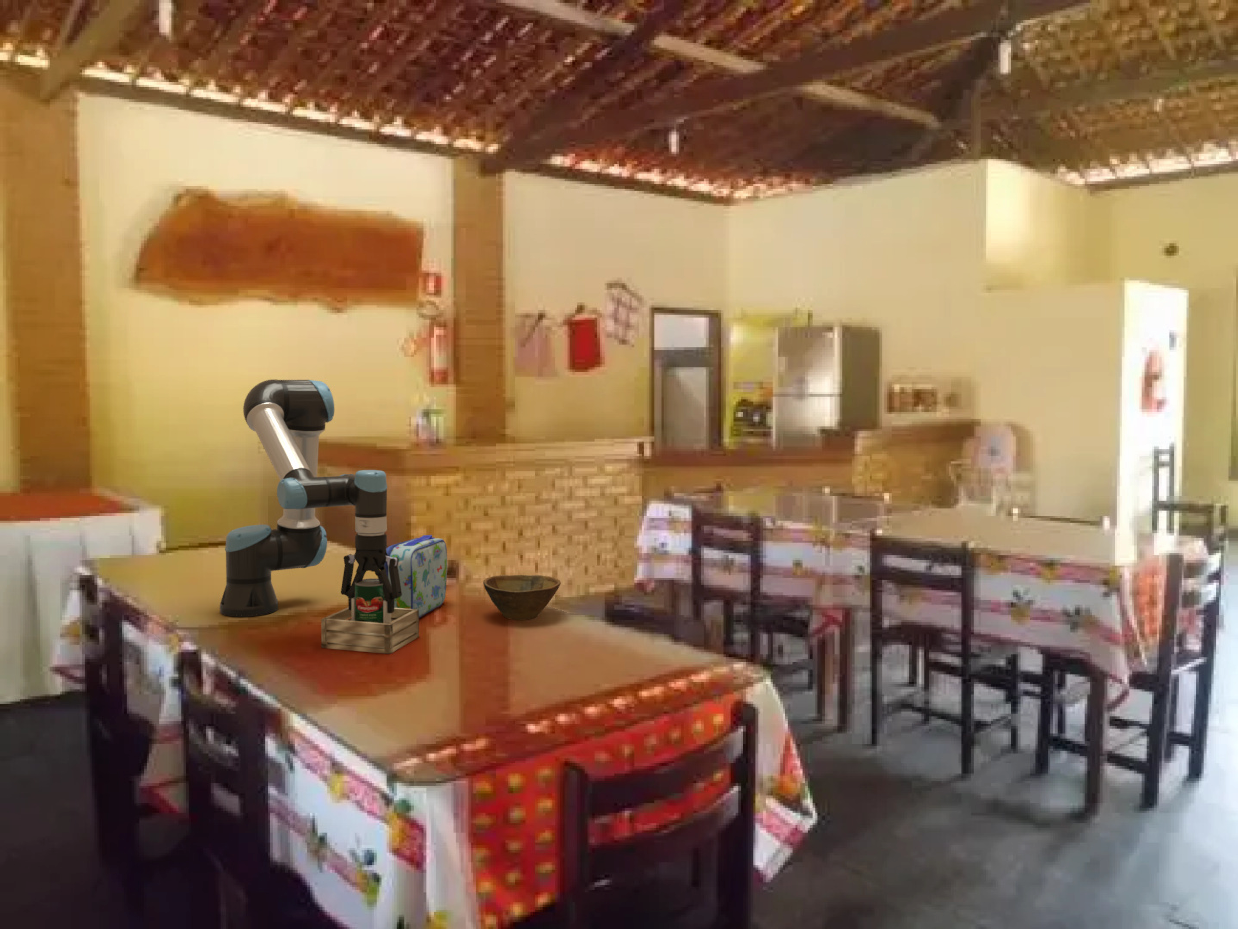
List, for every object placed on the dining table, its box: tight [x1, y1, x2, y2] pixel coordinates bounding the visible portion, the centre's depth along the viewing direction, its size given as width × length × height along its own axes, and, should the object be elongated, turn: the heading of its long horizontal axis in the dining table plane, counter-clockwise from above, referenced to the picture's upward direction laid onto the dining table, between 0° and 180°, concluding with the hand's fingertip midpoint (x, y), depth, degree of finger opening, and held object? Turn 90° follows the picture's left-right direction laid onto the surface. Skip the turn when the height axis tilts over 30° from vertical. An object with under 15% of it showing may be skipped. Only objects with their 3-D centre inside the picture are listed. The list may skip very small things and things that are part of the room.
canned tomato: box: [355, 578, 386, 623], centre depth 234 cm, size 8×8×11 cm
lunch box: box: [384, 534, 448, 619], centre depth 265 cm, size 26×11×21 cm, turn 168°
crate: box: [320, 607, 420, 655], centre depth 234 cm, size 18×16×7 cm
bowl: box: [482, 574, 561, 621], centre depth 263 cm, size 22×23×10 cm
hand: (371, 624), depth 234 cm, fingers closed on canned tomato, 8 cm apart
